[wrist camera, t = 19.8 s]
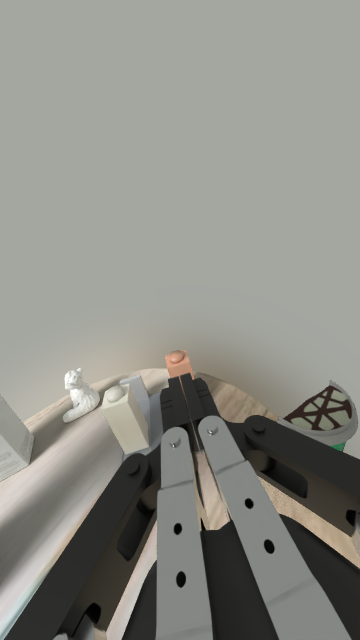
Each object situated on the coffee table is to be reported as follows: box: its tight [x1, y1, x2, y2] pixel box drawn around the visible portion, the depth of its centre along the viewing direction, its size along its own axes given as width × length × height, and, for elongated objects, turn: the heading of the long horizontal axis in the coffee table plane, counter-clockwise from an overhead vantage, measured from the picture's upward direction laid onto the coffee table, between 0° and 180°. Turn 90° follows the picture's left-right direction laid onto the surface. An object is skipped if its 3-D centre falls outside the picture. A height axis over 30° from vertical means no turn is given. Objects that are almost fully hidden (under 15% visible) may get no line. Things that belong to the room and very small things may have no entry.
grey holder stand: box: [119, 375, 204, 463], centre depth 42 cm, size 18×17×8 cm
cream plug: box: [101, 384, 149, 454], centre depth 38 cm, size 4×4×13 cm
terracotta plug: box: [165, 350, 194, 403], centre depth 43 cm, size 4×4×13 cm
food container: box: [277, 380, 358, 452], centre depth 30 cm, size 12×6×10 cm, turn 115°
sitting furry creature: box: [63, 368, 100, 423], centre depth 52 cm, size 10×9×12 cm
